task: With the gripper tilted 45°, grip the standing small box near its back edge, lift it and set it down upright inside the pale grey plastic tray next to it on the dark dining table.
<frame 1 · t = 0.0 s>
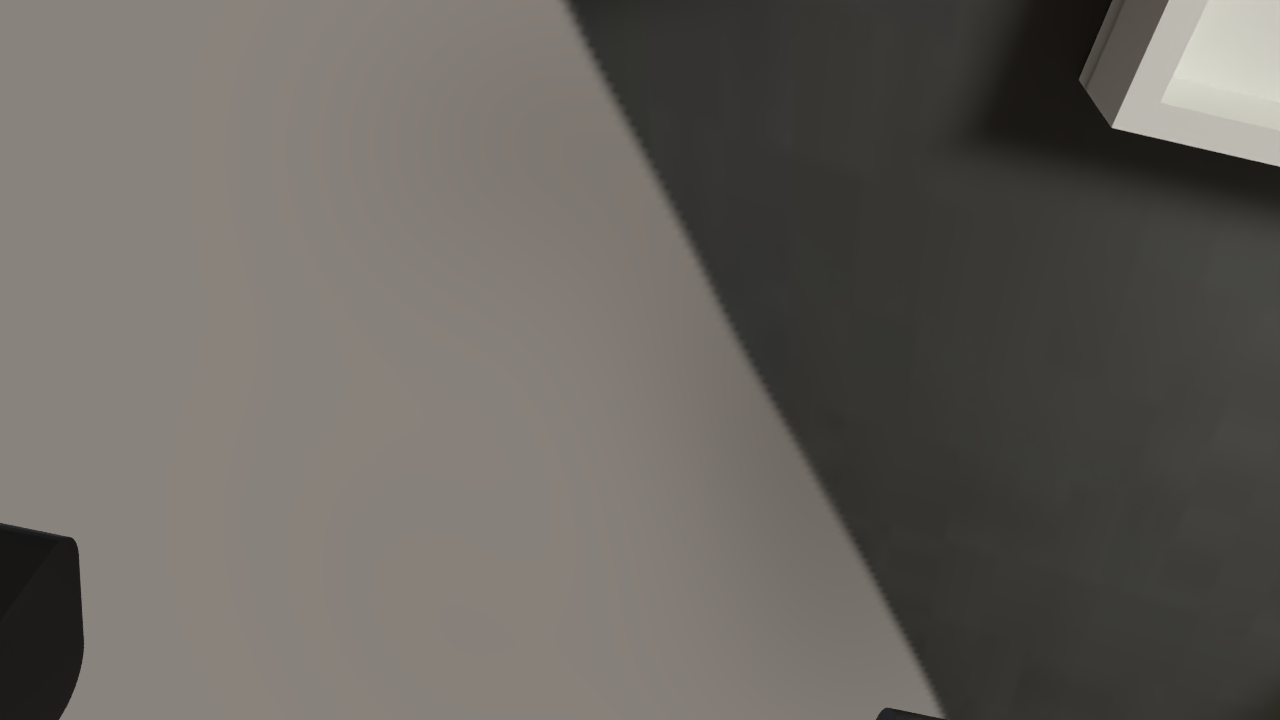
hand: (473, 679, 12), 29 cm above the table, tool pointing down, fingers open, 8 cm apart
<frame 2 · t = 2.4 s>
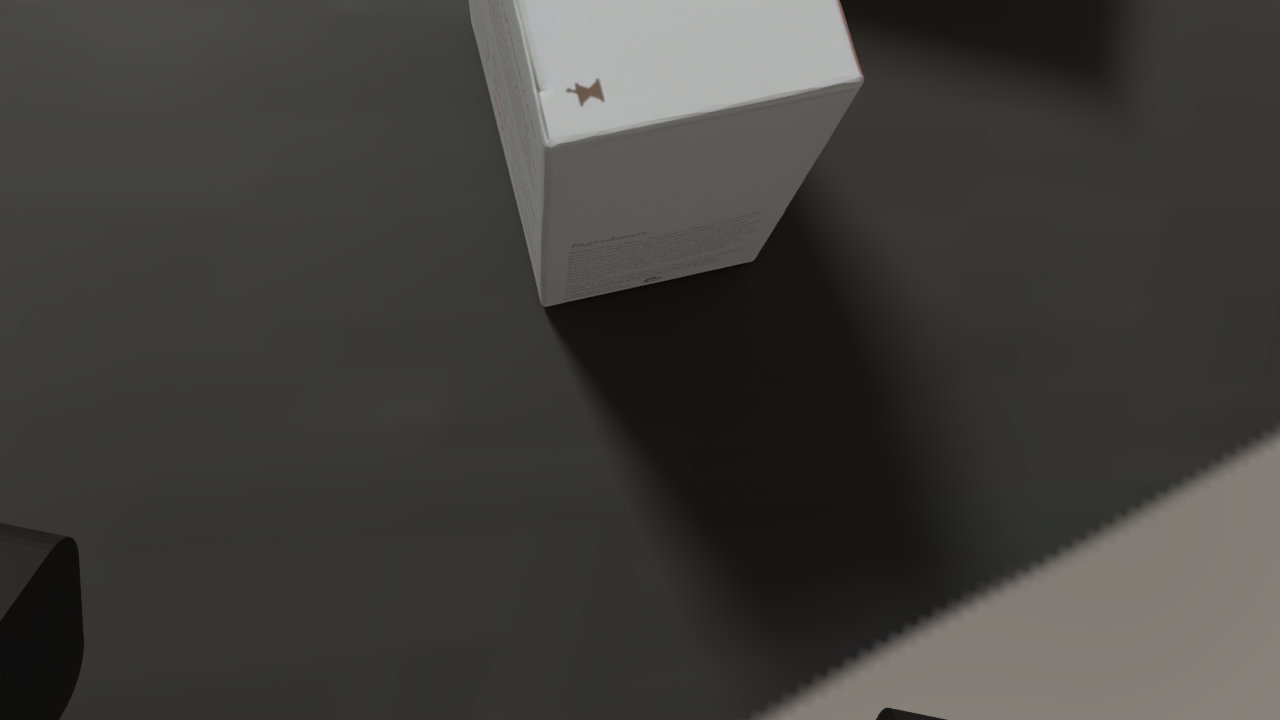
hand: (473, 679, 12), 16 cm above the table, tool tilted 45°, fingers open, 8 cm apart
small box: (609, 142, 31), on the table
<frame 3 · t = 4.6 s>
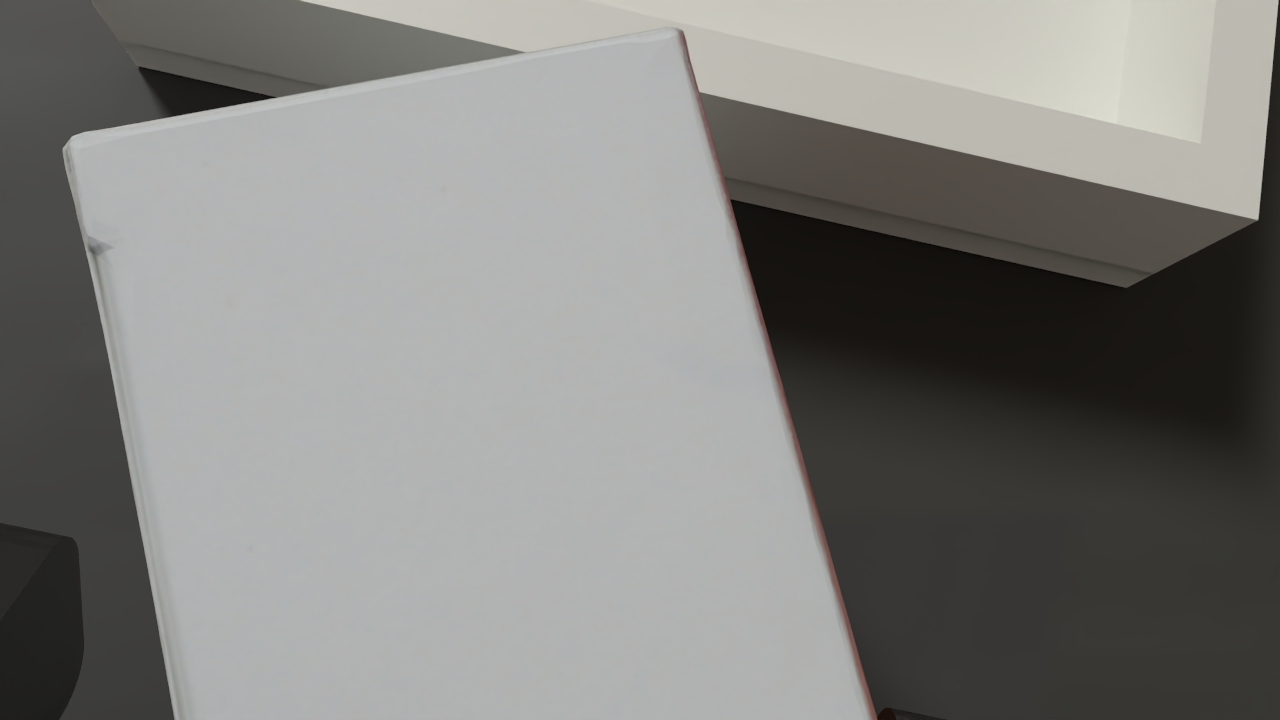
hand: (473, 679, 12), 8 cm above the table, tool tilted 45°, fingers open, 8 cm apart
small box: (502, 560, 20), on the table
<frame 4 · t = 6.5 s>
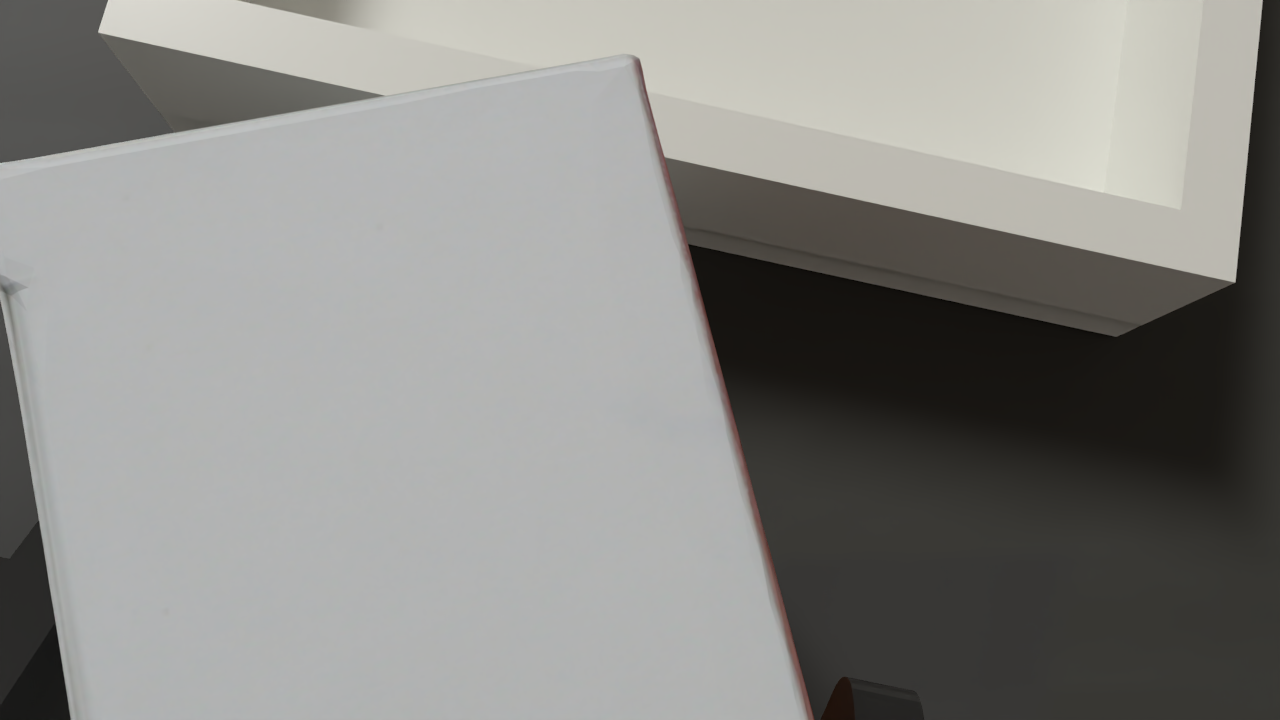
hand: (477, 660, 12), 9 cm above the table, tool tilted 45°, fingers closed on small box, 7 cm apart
small box: (471, 589, 20), point 2 cm above the table, touching gripper
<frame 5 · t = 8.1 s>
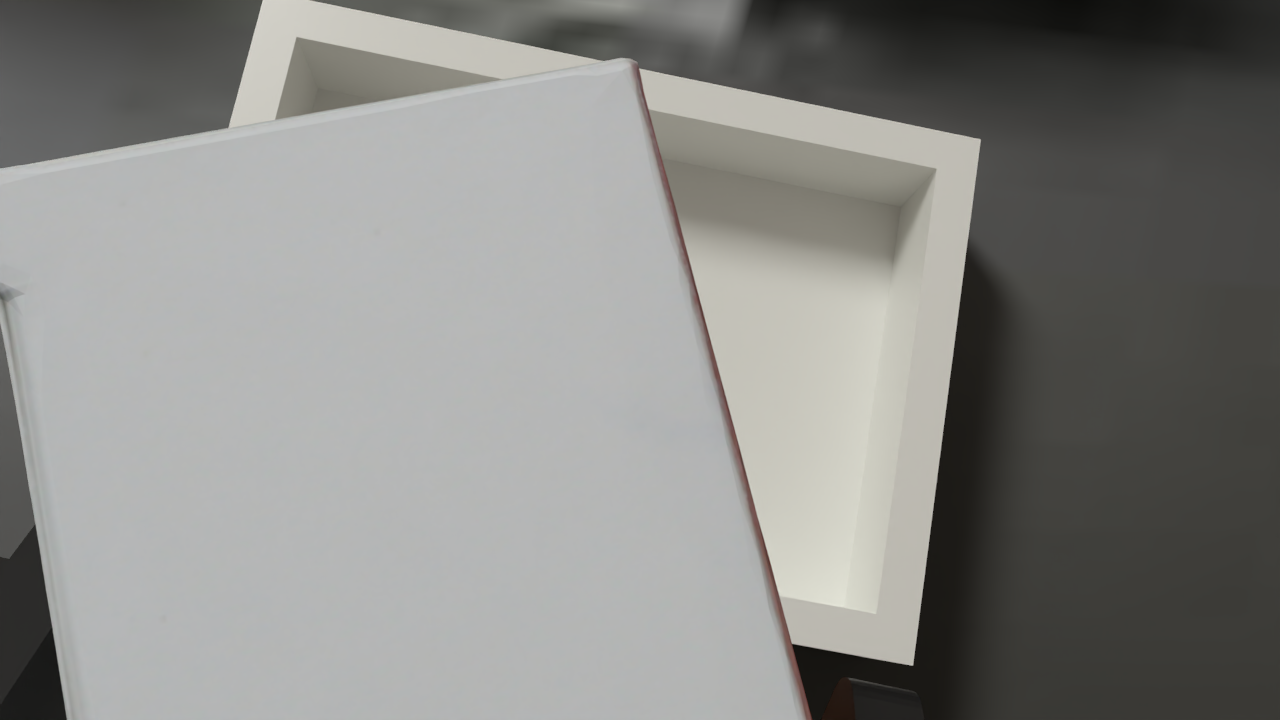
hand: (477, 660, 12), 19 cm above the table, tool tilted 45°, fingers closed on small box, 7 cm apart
small box: (470, 592, 20), point 12 cm above the table, touching gripper
tray: (573, 351, 32), on the table
when the fingers open (9 cm above the table, at t = 11.0 s): small box drops 1 cm, resting on tray.
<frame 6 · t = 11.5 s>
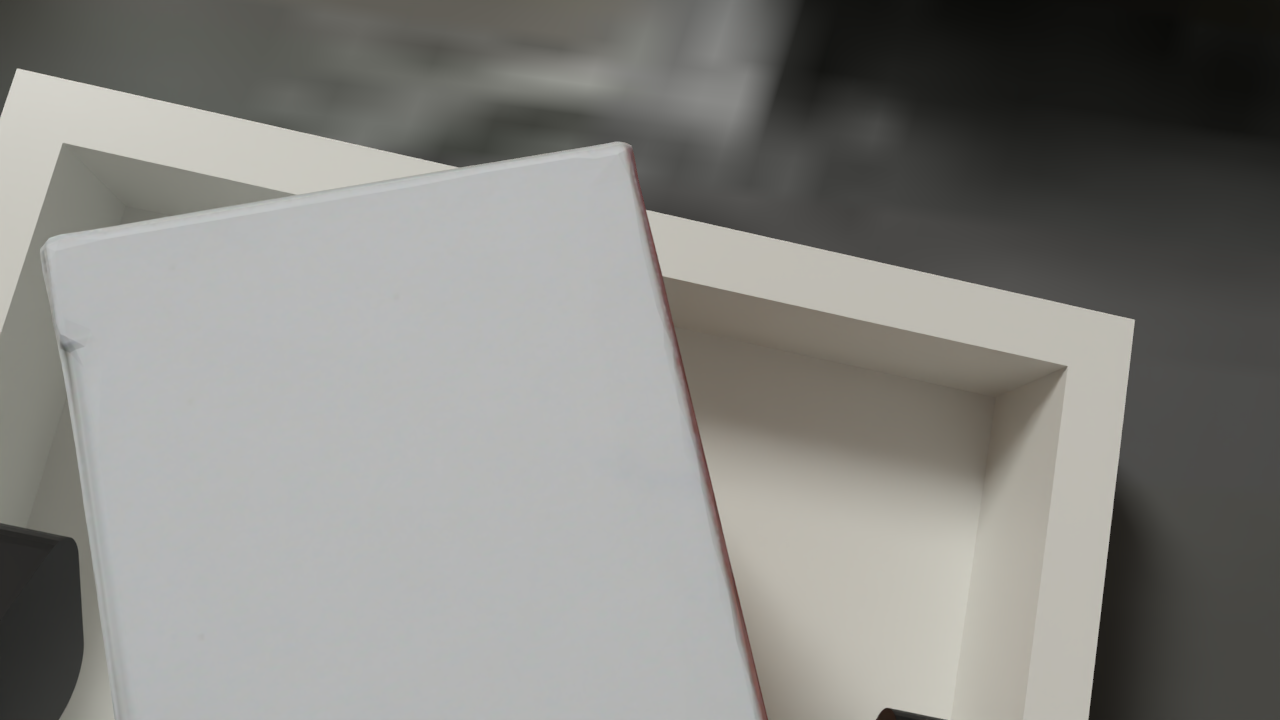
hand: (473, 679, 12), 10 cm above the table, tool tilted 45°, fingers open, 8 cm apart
small box: (473, 607, 21), point 1 cm above the table, touching tray
tray: (502, 609, 22), on the table
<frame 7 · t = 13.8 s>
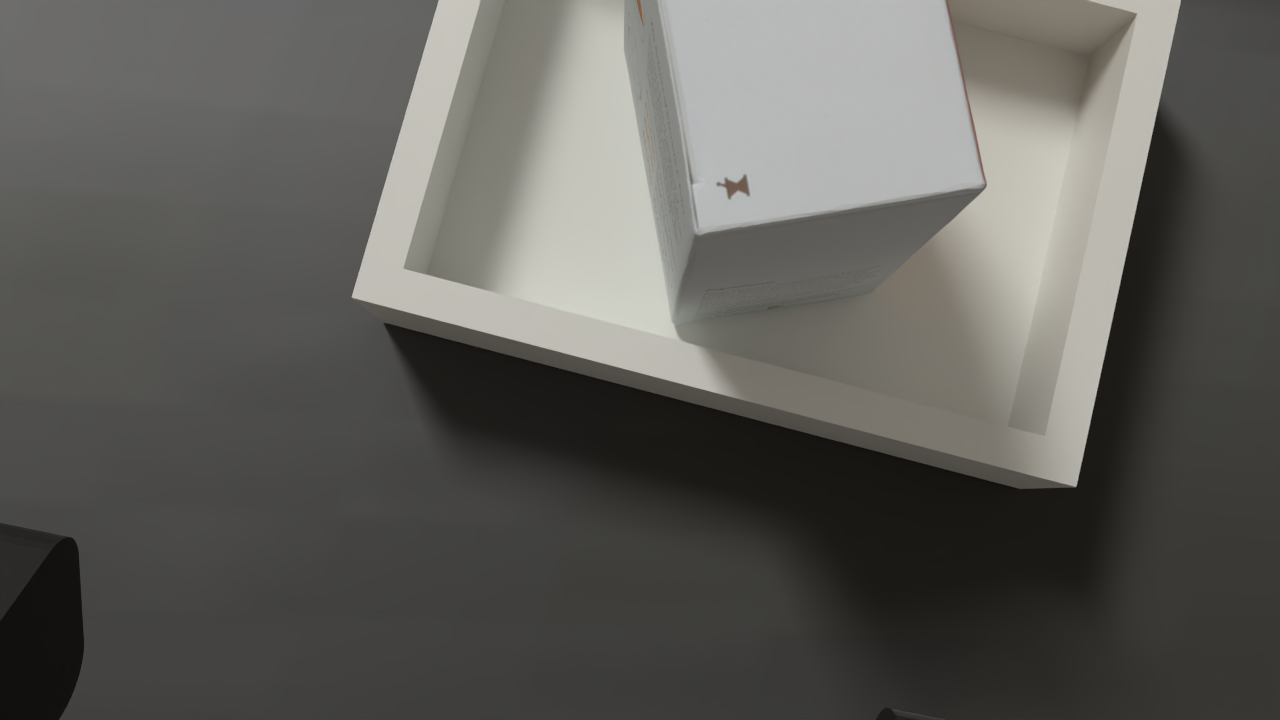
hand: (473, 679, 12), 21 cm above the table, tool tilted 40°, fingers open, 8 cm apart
small box: (744, 171, 33), point 1 cm above the table, touching tray
tray: (758, 181, 34), on the table
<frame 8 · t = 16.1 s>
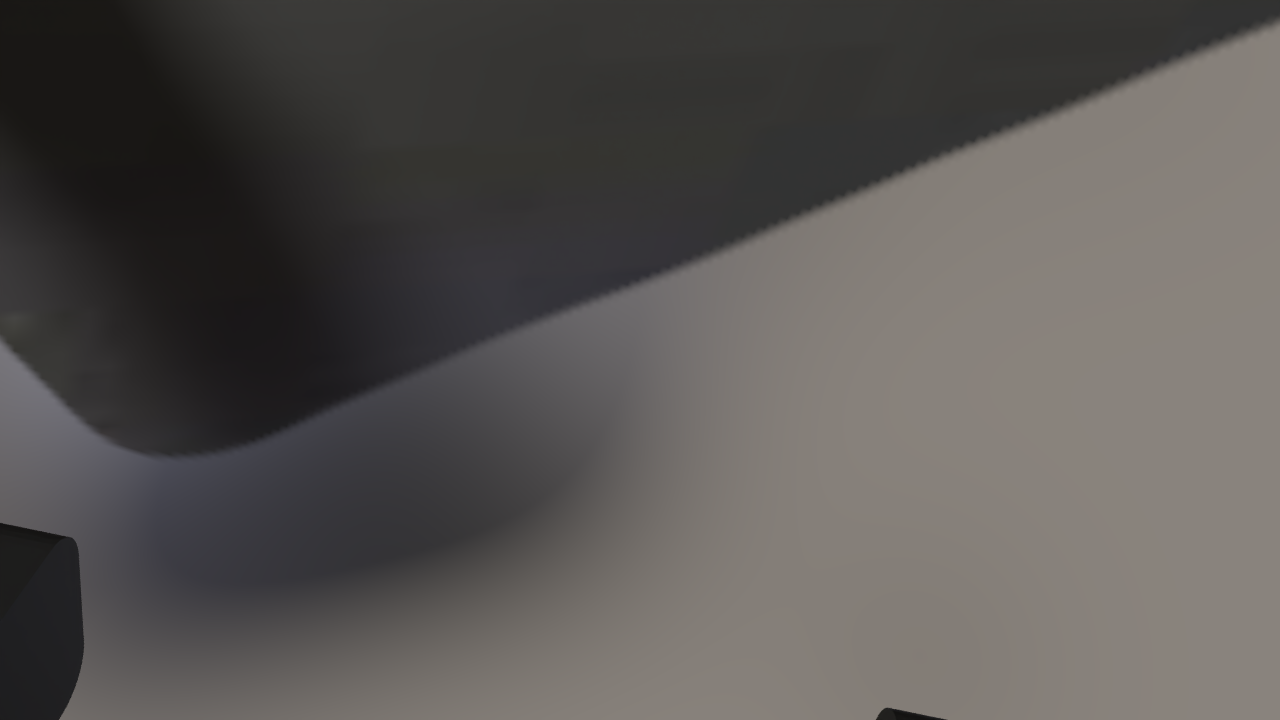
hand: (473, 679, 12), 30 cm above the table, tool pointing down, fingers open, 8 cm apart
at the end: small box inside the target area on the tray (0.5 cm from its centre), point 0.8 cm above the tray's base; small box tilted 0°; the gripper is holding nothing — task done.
